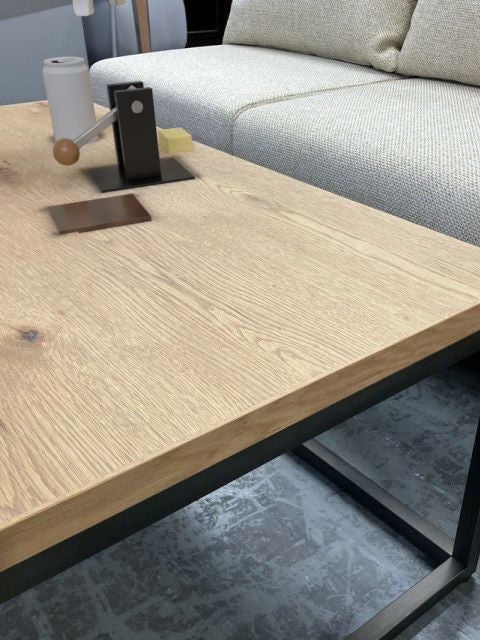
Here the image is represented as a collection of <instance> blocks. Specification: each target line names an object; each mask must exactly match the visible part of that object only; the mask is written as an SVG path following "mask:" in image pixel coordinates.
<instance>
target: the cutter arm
mask: <svg viewBox="0 0 480 640" xmlns="http://www.w3.org/2000/svg"><path fill="white" fill-rule="evenodd" d="M127 89H136V88H135V87H134V86H132V85H131V86H130V87H128V88H127ZM127 89H126V90H127ZM114 100H115V98H114ZM117 119H118V116H117V109H116V107H115V108H113V109H112V110H111V111H110V110H109V111H108V112H107V113H106V114H104V115H103V116H102V117H101V118H99V119H98V120H96V122H95V123H94V124H93V125H92V126H90V127H89V128H88V129H86V130H85V131H84V132H83V133H81V134H80V135H79V136H77V137H76V138H75V139H73V140H71V139H68V138H62V139H59V140H58V141H56V142H55V143H54V144H53V146H52V156H53V157H54V159H55V161H56V162H57V163H58V164H60V165H62V166H66V167H67V166H68V167H69V166H73V165H75V164H76V163H77V162H78V161H79V159H80V156H81V148H82V147H84V146H85V145H87V144H89V143H88V142H89V141H90V140H91V139H93V138H94V137H95V136H97V135H98V136H99V134H100V133H102V132H103V131H105V130H106V129H107V128H108V127H110V126H112V123H113V122H115V121H116V120H117ZM86 143H87V144H86Z"/></svg>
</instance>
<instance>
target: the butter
mask: <svg viewBox="0 0 480 640" xmlns="http://www.w3.org/2000/svg"><path fill="white" fill-rule="evenodd" d="M157 139H158V146H160V147H161V148H162V149H163V150H164V151H166V153H167V154H169V155H171V154H178V153H179V154H180V153H187V152H193V151H194V149H193V137H192V134H190V133H189V132H187V130H185V129H184V128H182V127H181V126H180V127H179V126H178V127H172V128H171V127H170V128H163V129H157Z"/></svg>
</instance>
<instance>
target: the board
mask: <svg viewBox="0 0 480 640" xmlns="http://www.w3.org/2000/svg"><path fill="white" fill-rule="evenodd" d="M46 210H47V212H48V214H49V217H50V218H51V220H52V223H53V225H54V226H55V228H56V230H57V233H58V234H59V235H65V234H70V233H78V234H82V233H83V234H84V233H88V232H95V231H100V230H107V229H112V228H118V227H125V226H130V225H136V224H141V223H147V222H152V215H151V214H150V213H149V212H148V211H147V209H146V208H145V207H144V205H142V203H141V202H140V201H139V200H138V198H137V197H136V196H135V195H134V193H127V194H121V195H114V196H107V197H101V198H95V199H90V200H89V199H87V200H80V201H75V202H69V203H62V204H55V205H49V206H46Z"/></svg>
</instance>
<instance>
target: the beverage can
mask: <svg viewBox="0 0 480 640" xmlns="http://www.w3.org/2000/svg"><path fill="white" fill-rule="evenodd" d="M42 63H43V64H44V66H43V68H42V78H43V82H44V88H45V93H46V99H47V106H48V110H49V115H50V122H51V127H52V132H53V137H54V142H55V143H56V141H58V140H59V139H62V138H68V139H71V140H73V139H75V138H76V137H77V136H79V135H80V134H81V133H83V132H84V131H85V130H86V129H88V128H89V127H90V126H92V125H93V124H94V123H95V122H97V117H96V111H95V104H94V98H93V97H94V96H93V92H92V91H93V90H92V84H91V76H90V72H89V66H88V65H87V64H86V63H85V58H84V57H80V56H56V57H50V58H46V59H44V60H43V62H42ZM99 138H100V137H99V134H98V135H97V136H95V137H94V138H93V139H91V140H90V141H89V142H88V143H86V144H85V145H87V144H92V143H94V142H96V141H98V140H99Z"/></svg>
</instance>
